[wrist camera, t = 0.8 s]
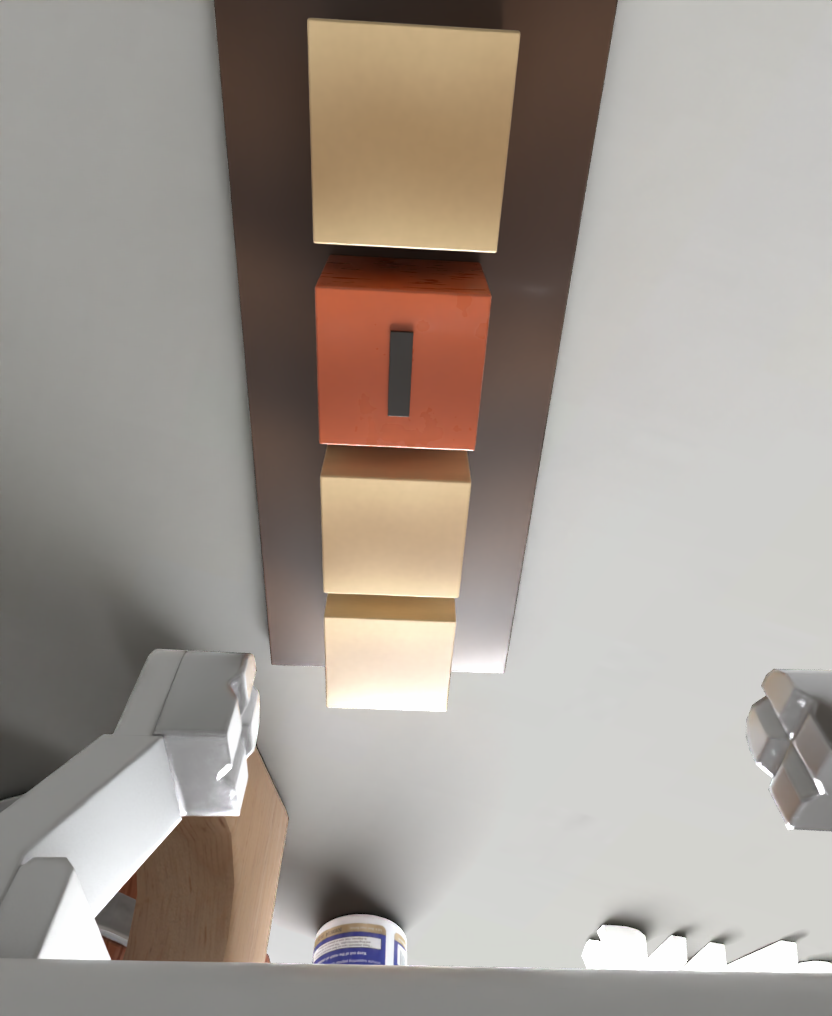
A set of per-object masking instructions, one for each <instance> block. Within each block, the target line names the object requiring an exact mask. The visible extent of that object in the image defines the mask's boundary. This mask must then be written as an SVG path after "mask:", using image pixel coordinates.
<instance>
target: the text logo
mask: <svg viewBox="0 0 832 1016" xmlns="http://www.w3.org/2000/svg"><path fill="white" fill-rule="evenodd" d="M597 933H598V935H599V937H600V939H601V941H596V940H591V939H589V940H588V941H587V943H586V946H585V948H584V951H583V954H582V957H583V959H584V962H585V965H586V967H587V969H638V970H691V971H744V972H796V973H832V963H830V962H825V961H808V962H801V963H798V957H797V946H796V943H794V942H788V941H782V940H781V941H779V942H777V943H774V944H772V945H770V946H768V947H765V948H763V949H761V950H759V951H757V952H754V953H752V954H750V955H748V956H745V957H743V958H741V959H739V960H737V961H734V962H732V963H730V964H728V965H726V954H725V945H724V944H718V943H713V942H710V943H709V944H708V945H707V946H705V947H704V948H703V949H702V950H701V951H700V952H699V953H698V954H697V955H695V956H694V957H693V958H692V959H691V960H690V961H689V962H688V963H686V962H687V944H686V938H684V937H679V936H673V935H671V936H670V937H669V938H668V939H667V940H666V941H665V942H664V943H663V944H662V945H661V946H660V947H659V948H658V949H657V950H656V951H655V952H654V953H653V954H652V955H651V956H650V957H649V958H648V959H647V947H646V937H645V935H644V934H643V933H641V932H640V931H639V930H637V929H633V928H630V927H627V926H614V925H602V926H601V928H600V929H599V930H598V931H597Z"/></svg>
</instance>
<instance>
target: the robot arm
mask: <svg viewBox="0 0 832 1016" xmlns="http://www.w3.org/2000/svg"><path fill="white" fill-rule="evenodd" d="M256 671H257V670H256V664H255V657H254V655H253V654H251V653H234V652H216V651H197V650H188V651H186V650H168V649H155V650H154V651H153V652H152V653H151V654H150V655H149V656H148V658H147V660H146V662H145V665H144V667H143V669H142V671H141V674H140V676H139V678H138V680H137V682H136V685H135V687H134V689H133V691H132V694H131V696H130V698H129V700H128V702H127V705H126V707H125V709H124V711H123V714H122V716H121V718H120V720H119V723H118V725H117V727H116V729H115V731H114V734H103V735H102V736H100V737H99V738H98V739H96V740H95V741H94V742H92V743H91V744H90V745H89V746H87V747H86V748H85V749H83V750H82V751H81V752H79V753H78V754H77V755H75V756H74V757H73V758H71V759H70V760H69V761H68V762H66V763H65V764H64V765H62V766H61V767H60V768H58V769H57V770H56V771H54V772H53V773H52V774H51V775H49V776H48V777H47V778H45V779H44V780H43V781H41V782H40V783H39V784H37V785H36V786H35V787H33V788H32V789H31V790H30V791H28V792H27V793H26V794H24V795H23V796H22V797H20V798H19V799H18V800H16V801H15V802H14V803H13V804H11V805H10V806H9V807H7V808H6V809H5V810H3V811H2V812H1V813H0V1016H832V973H796V972H744V971H691V970H638V969H581V968H524V967H467V966H411V965H356V964H300V963H244V962H189V961H133V960H111V958H110V956H109V953H108V951H107V948H106V946H105V943H104V941H103V938H102V936H101V933H100V931H99V928H98V926H97V923H96V921H95V919H94V918H95V917H96V916H97V914H98V913H99V912H100V911H101V910H102V909H103V908H104V907H105V905H106V904H107V903H108V902H109V901H110V900H111V899H112V898H113V896H114V895H115V894H116V893H117V892H118V891H119V890H120V889H121V887H122V886H123V885H124V884H125V883H126V882H127V881H128V880H129V878H130V877H131V876H132V875H133V874H134V873H135V872H136V871H137V869H138V868H139V867H140V866H141V865H142V864H143V863H144V862H145V860H146V859H147V858H148V857H149V856H150V855H151V854H152V853H153V851H154V850H155V849H156V848H157V847H158V846H159V845H160V844H161V842H162V841H163V840H164V839H165V838H166V837H167V836H168V835H169V833H170V832H171V831H172V830H173V829H174V828H175V827H176V826H177V824H178V823H179V822H180V821H181V820H182V818H181V816H239V814H240V810H241V806H242V802H243V797H244V793H245V789H246V785H247V781H248V768H247V761H246V758H247V757H249V756H250V755H251V754H252V753H253V752H254V750H255V746H256V741H257V736H258V729H259V720H260V697H259V690H258V689H257V688H255V687H254V686H253V683H254V679H255V675H256ZM761 686H762V688H763V690H764V692H765V694H766V696H765V697H763V698H762V699H760V700H759V701H757V702H756V703H755V704H753V705H752V707H751V710H750V712H749V715H748V717H747V720H746V737H747V741H748V745H749V749H750V752H751V754H752V756H753V758H754V761H755V763H756V765H758V766H759V767H760V768H761V769H763V770H764V771H765V772H766V773H768V774H769V775H770V776H771V777H772V780H771V783H770V787H769V792H770V794H771V796H772V798H773V800H774V802H775V804H776V806H777V808H778V810H779V812H780V814H781V816H782V818H783V820H784V822H785V824H786V826H787V828H788V829H797V830H817V831H832V670H805V669H773V670H772V671H771V672H769V673H768V674H767V675H766V677H765V679H764V681H763V683H762V685H761Z"/></svg>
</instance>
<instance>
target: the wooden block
mask: <svg viewBox="0 0 832 1016" xmlns="http://www.w3.org/2000/svg"><path fill="white" fill-rule="evenodd" d="M246 761H247V768H248V781H247V785H246V789H245V793H244V797H243V802H242V806H241V810H240V814H239V816H181V818H182V820H181V821H180V822H179V823H178V824H177V826H176V827H175V828H174V829H173V830H172V831H171V832H170V833H169V835H168V836H167V837H166V838H165V839H164V840H163V841H162V842H161V844H160V845H159V846H158V847H157V848H156V849H155V850H154V851H153V853H152V854H151V855H150V856H149V857H148V858H147V859H146V860H145V862H144V863H143V864H142V865H141V866H140V867H139V868H138V869H137V899H136V904H135V909H134V914H133V918H132V923H131V928H130V933H129V938H128V943H127V948H126V951H125V954H124V957H123V960H133V961H189V962H244V963H265V958H266V952H267V946H268V940H269V935H270V929H271V923H272V917H273V911H274V906H275V899H276V893H277V887H278V881H279V875H280V869H281V863H282V857H283V850H284V844H285V838H286V832H287V826H288V820H289V817H288V814H287V812H286V809H285V807H284V805H283V803H282V801H281V799H280V797H279V795H278V792H277V790H276V788H275V786H274V784H273V782H272V780H271V777H270V775H269V773H268V771H267V769H266V767H265V765H264V763H263V760H262V758H261V756H260V754H259V752H258V750H257V748H256V746H255V750H254V752H253V753H252V754H251V755H250V756H249V757H247V758H246Z"/></svg>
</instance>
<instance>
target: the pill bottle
mask: <svg viewBox="0 0 832 1016" xmlns="http://www.w3.org/2000/svg"><path fill="white" fill-rule="evenodd" d="M312 964H356V965H407V942H406V937H405V934H404V932H403V931H402V929H401V928H400V927H399V926H398V925H397V924H395V923H394V922H392V921H390V920H388V919H385V918H382V917H379V916H375V915H367V914H353V915H346V916H342V917H338V918H336V919H333V920H331V921H329V922H327V923H326V924H325V925H323V926H322V927H321V929H320V930H319V931H318V933H317V935H316V939H315V945H314V953H313V962H312Z"/></svg>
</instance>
